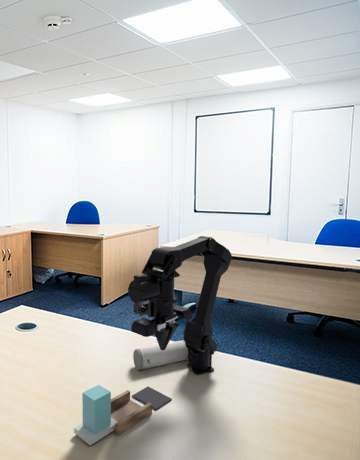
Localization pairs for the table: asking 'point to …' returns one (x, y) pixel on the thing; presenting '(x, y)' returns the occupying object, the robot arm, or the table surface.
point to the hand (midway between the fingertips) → (162, 349)
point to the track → (127, 412)
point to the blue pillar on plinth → (96, 415)
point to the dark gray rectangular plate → (152, 397)
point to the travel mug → (160, 355)
